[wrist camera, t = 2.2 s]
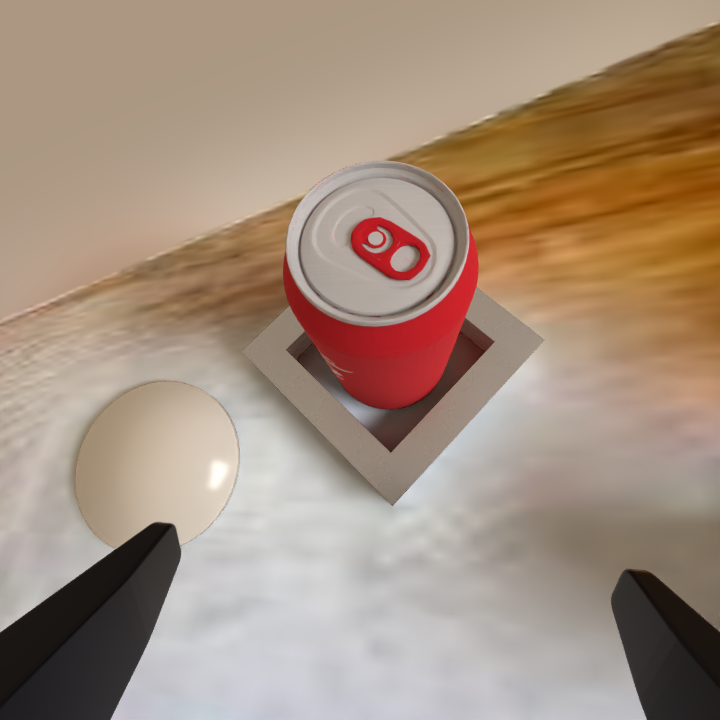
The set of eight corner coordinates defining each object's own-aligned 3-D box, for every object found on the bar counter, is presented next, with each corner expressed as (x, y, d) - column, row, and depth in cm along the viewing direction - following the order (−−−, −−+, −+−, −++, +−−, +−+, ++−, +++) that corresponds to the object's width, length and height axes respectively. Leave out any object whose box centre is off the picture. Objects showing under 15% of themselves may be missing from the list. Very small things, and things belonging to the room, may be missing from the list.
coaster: (144, 592, 21) (137, 595, 20) (54, 464, 23) (45, 464, 22) (273, 462, 22) (269, 461, 21) (174, 353, 24) (169, 350, 24)
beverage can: (380, 286, 24) (361, 112, 13) (468, 347, 23) (536, 212, 11) (312, 366, 23) (223, 257, 12) (398, 436, 22) (393, 389, 10)
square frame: (393, 503, 21) (392, 506, 19) (254, 361, 24) (241, 351, 22) (532, 351, 22) (544, 339, 20) (385, 235, 25) (384, 215, 23)
